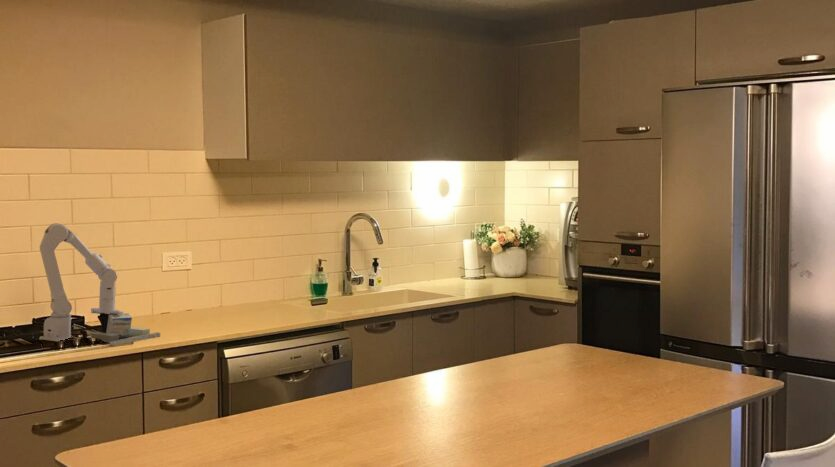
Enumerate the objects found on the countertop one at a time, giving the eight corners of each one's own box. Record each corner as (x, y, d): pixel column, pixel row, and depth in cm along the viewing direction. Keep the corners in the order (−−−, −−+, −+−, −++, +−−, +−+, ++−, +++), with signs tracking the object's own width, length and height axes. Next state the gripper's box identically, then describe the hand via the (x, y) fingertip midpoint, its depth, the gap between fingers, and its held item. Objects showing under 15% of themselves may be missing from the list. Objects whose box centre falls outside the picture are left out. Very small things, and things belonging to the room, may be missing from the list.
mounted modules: (111, 343, 343) (111, 335, 343) (91, 341, 347) (91, 333, 347) (149, 336, 362) (149, 328, 362) (129, 333, 366) (130, 326, 366)
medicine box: (109, 338, 353) (112, 318, 350) (105, 333, 356) (108, 313, 354) (129, 337, 358) (132, 317, 355) (125, 332, 361) (128, 312, 359)
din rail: (113, 345, 339) (113, 341, 339) (109, 345, 340) (109, 341, 340) (160, 336, 363) (160, 332, 363) (157, 335, 364) (157, 332, 364)
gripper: (128, 299, 357) (127, 333, 358) (100, 296, 364) (99, 329, 364) (115, 301, 351) (115, 336, 352) (87, 297, 357) (86, 332, 358)
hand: (106, 333), depth 358 cm, fingers closed
